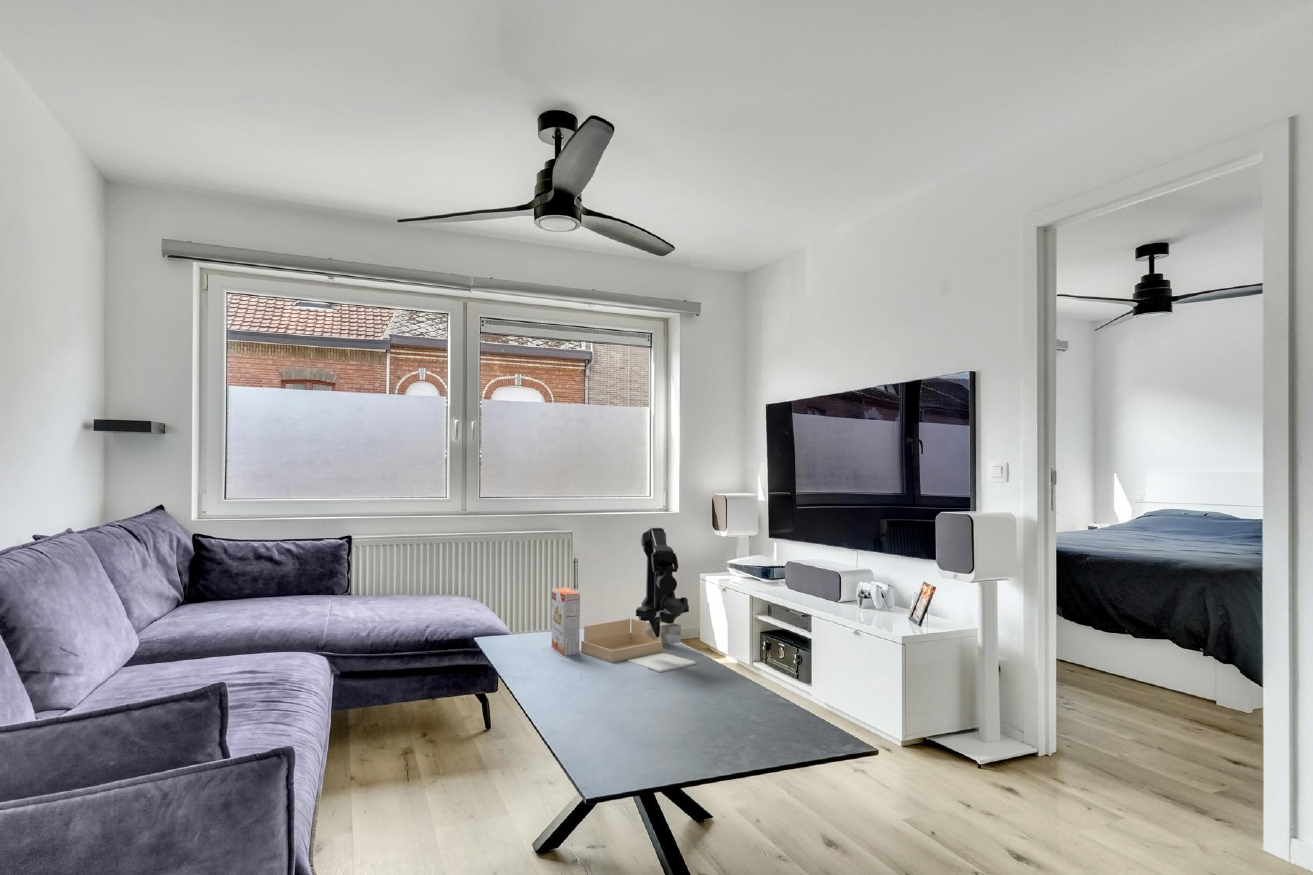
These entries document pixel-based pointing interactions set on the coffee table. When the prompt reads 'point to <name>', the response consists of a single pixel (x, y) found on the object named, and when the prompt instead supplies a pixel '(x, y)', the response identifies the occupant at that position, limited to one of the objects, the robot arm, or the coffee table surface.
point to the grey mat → (662, 662)
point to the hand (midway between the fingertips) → (662, 636)
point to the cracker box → (565, 620)
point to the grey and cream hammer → (664, 632)
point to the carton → (618, 640)
